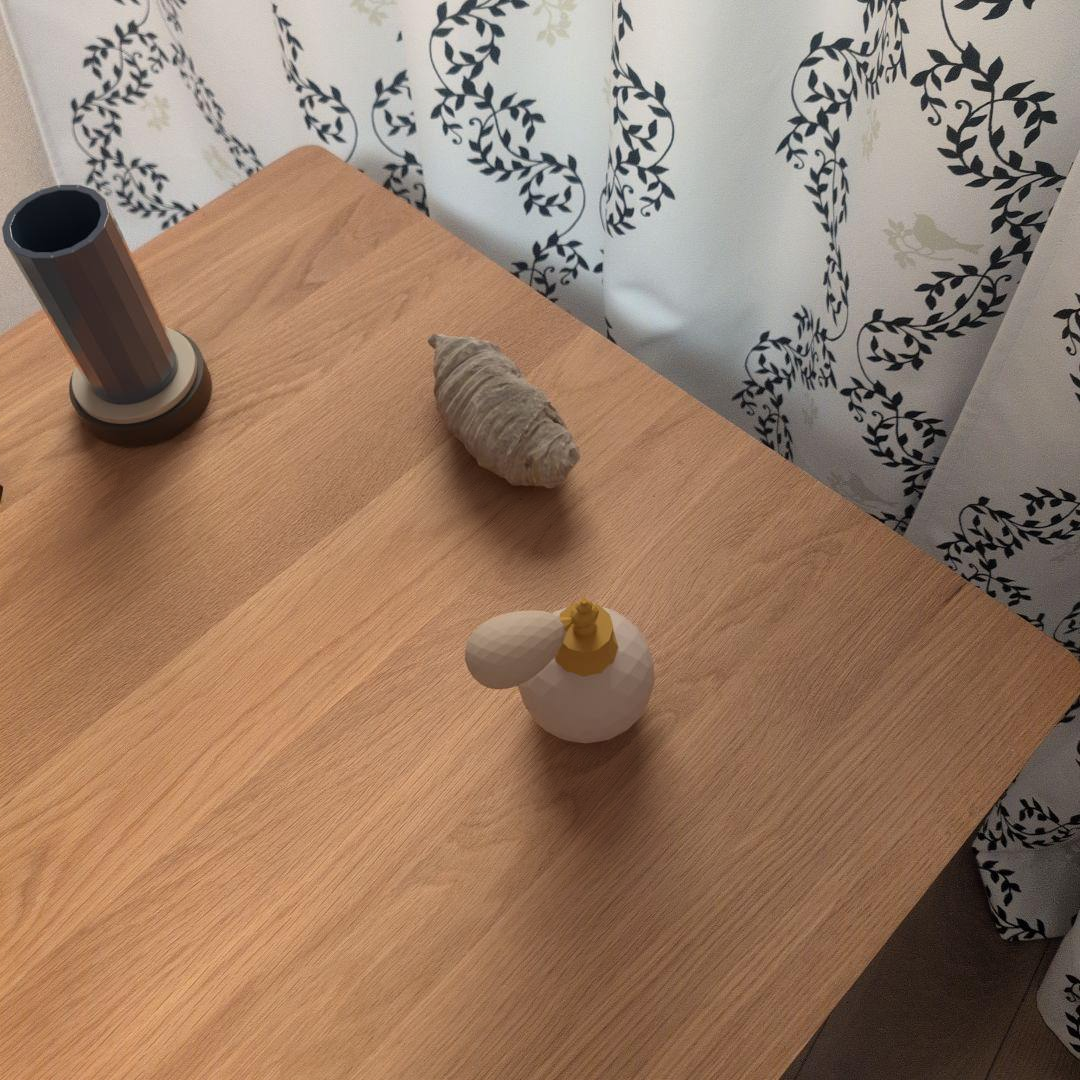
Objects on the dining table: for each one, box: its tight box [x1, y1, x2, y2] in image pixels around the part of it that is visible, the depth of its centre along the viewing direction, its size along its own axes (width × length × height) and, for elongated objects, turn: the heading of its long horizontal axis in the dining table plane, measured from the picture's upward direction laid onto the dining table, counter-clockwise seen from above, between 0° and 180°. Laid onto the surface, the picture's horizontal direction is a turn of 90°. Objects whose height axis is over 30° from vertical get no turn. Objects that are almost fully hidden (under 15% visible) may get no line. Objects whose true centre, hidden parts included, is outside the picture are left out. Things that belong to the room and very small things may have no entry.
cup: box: [1, 184, 178, 405], centre depth 71 cm, size 6×6×13 cm
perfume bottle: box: [464, 596, 655, 744], centre depth 60 cm, size 8×10×12 cm
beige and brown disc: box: [68, 326, 213, 448], centre depth 78 cm, size 9×9×3 cm
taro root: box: [427, 333, 581, 489], centre depth 73 cm, size 6×14×8 cm, turn 36°
